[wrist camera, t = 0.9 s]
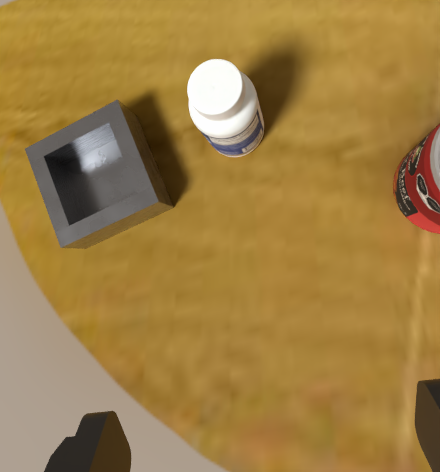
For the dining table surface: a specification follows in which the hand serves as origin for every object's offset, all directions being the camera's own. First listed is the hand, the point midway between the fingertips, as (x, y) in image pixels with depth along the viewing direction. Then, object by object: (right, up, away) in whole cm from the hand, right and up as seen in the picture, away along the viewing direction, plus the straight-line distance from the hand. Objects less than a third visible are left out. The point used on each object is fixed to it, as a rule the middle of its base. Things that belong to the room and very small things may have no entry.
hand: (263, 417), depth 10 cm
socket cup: (-12, +10, +29) cm, 33 cm away
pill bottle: (0, +15, +26) cm, 30 cm away
